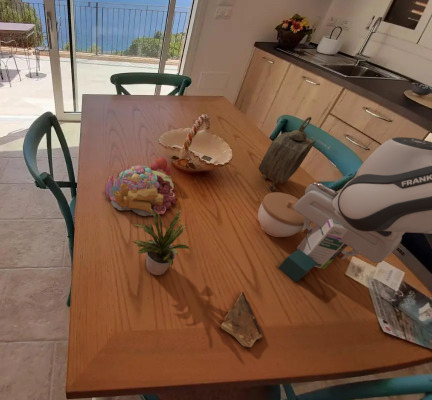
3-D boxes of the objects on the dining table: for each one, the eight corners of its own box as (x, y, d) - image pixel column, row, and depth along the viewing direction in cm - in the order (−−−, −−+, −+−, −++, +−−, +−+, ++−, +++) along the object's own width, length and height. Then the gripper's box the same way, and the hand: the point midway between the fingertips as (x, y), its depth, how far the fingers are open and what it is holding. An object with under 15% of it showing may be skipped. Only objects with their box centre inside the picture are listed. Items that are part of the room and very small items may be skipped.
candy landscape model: (181, 219, 82) (189, 197, 76) (104, 216, 81) (105, 193, 75) (169, 171, 100) (174, 149, 94) (106, 168, 99) (107, 146, 93)
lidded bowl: (267, 247, 76) (286, 220, 68) (243, 215, 85) (257, 189, 77) (305, 241, 78) (327, 215, 71) (277, 211, 87) (294, 185, 80)
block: (306, 273, 70) (317, 262, 66) (296, 282, 68) (306, 271, 64) (289, 259, 73) (298, 248, 69) (278, 267, 71) (287, 256, 67)
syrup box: (299, 263, 71) (333, 226, 61) (296, 246, 75) (326, 210, 65) (323, 270, 70) (361, 233, 60) (318, 252, 74) (353, 216, 64)
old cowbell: (274, 195, 93) (314, 129, 76) (249, 182, 98) (283, 117, 81) (291, 179, 100) (331, 116, 84) (267, 168, 105) (301, 106, 88)
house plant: (142, 233, 77) (151, 190, 66) (189, 253, 72) (207, 211, 61) (120, 270, 67) (126, 227, 56) (172, 296, 63) (189, 255, 52)
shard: (240, 294, 64) (243, 290, 63) (272, 317, 61) (276, 314, 59) (218, 326, 58) (221, 322, 57) (252, 354, 55) (255, 350, 53)
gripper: (305, 182, 64) (278, 222, 73) (408, 241, 52) (359, 280, 61) (319, 175, 67) (291, 214, 76) (420, 230, 54) (371, 268, 64)
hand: (322, 244), depth 68 cm, fingers closed on syrup box, 8 cm apart
